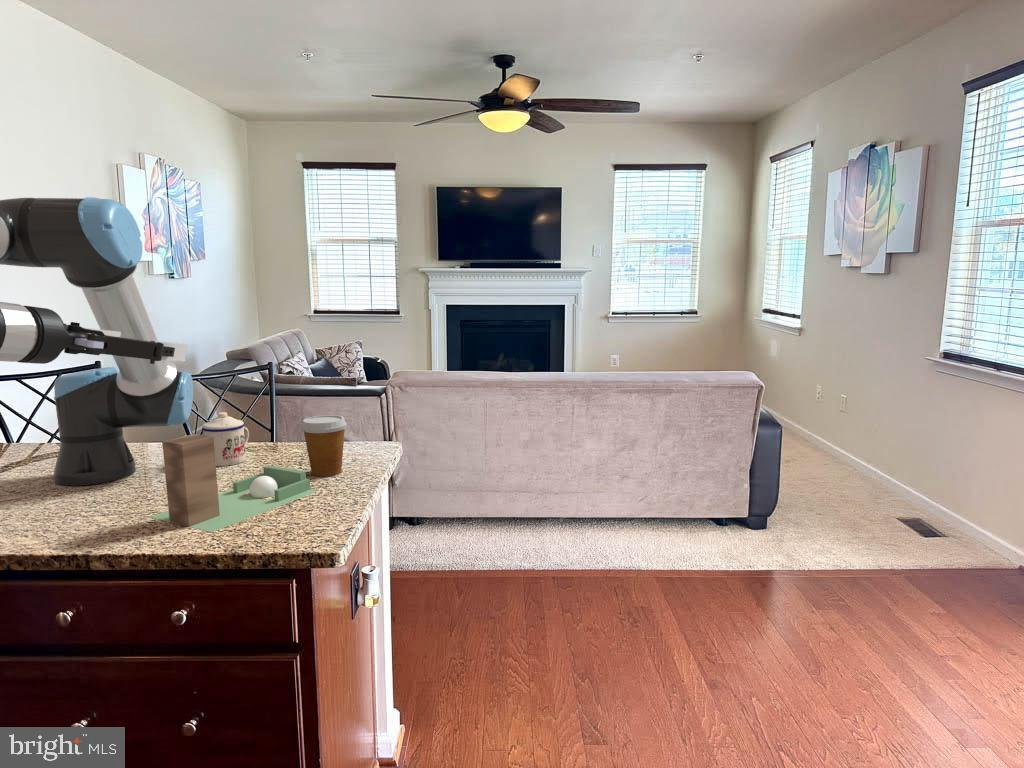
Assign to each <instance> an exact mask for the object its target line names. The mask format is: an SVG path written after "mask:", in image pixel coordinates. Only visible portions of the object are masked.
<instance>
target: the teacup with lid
mask: <svg viewBox="0 0 1024 768" xmlns="http://www.w3.org/2000/svg"><path fill="white" fill-rule="evenodd" d="M201 430H202V432H203V435H204V436H211V437H214V449H215V462H216V467H228V466H229V465H230V466H234V465H239V464H241V463H243V462H244V461H246V458H247V455H246V445H247V444H248V441H249V437H250V432H249V429H248V428H247V427H246V426H245V423H244V421H243V420H242V419H236V418H234V417H232V416H229V415H228V413H227V412H225V411H221V412H218V413H217V416H216V417H215V418H213V419H211V420H210V421H207V422H205V423H203V425H202V427H201Z"/></svg>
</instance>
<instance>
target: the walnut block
mask: <svg viewBox="0 0 1024 768" xmlns="http://www.w3.org/2000/svg"><path fill="white" fill-rule="evenodd" d="M162 452H163V453H162V454H163V464H164V473H165V475H164V476H165V486H166V496H167V507H168V511H169V519H170V522H169V523H171V522H172V524H175V523H176V524H175V525H179V524H180V526H183V525H184V527H187V526H188V528H191V527H190V526H193V525H196V524H198V523H201V522H204V521H206V520H209V519H212V518H215V517H217V516H220V511H219V499H218V494H219V491H218V490H219V488H218V476H217V474H218V473H217V466H216V462H215V449H214V437H211V436H204V434H203V435H202V434H197V433H193V434H188V435H183V436H181V437H175V438H171V439H166V440H163V441H162Z"/></svg>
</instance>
